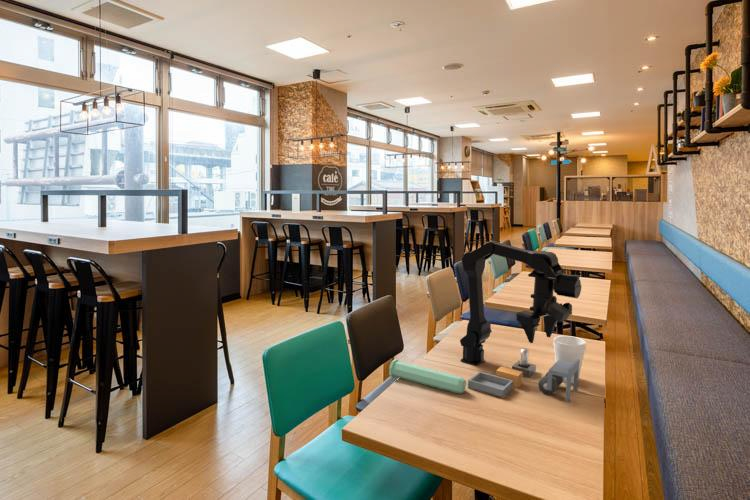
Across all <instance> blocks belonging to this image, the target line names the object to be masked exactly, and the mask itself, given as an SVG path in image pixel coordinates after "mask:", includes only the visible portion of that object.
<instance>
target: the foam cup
mask: <svg viewBox="0 0 750 500" xmlns="http://www.w3.org/2000/svg"><path fill="white" fill-rule="evenodd" d="M586 348H587V342H586V340H584V339H582V338H580V337H576V336H572V335H570V336H569V335H558V336H554V337H553V349H554V362H555V363H556V362H557V361H558V360H562V361H567V362H571V363H574V362H575V361H576V360H577V359H580V360H579V375H578V380H579V379H580V373H581V369H582V365H583V360H584V357H585V356H584V355H585V352H586V350H587V349H586ZM555 363H554V364H555ZM566 382H567V378H565V377H563V382H562V383H566ZM571 384H574V375H573V376H572V377H571Z"/></svg>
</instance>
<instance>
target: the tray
mask: <svg viewBox="0 0 750 500" xmlns="http://www.w3.org/2000/svg"><path fill="white" fill-rule="evenodd" d="M467 388H468V389H471V390H473V391H478V392H480V393H482V394H483V393H484V394H487V395H491V396H494V397H497V398H500V399H504V397H506V396H507V395H508V394H509V393H510V392H511V391H513V389H514V387H513V381H512V380H509V379H505V378H501V377H498V376H496V375H494V374H490V373H486V372H482V371H478V372H477V373H475V374H474V375H473V376H472V377H470V378H469V379H468V380H467Z"/></svg>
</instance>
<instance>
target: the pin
mask: <svg viewBox="0 0 750 500" xmlns="http://www.w3.org/2000/svg"><path fill="white" fill-rule="evenodd" d="M529 351H530V350H529V349H528V348H525V347H524V348H522V347H521V348H520V360H519V361H520V367H524V368H528V363H529Z"/></svg>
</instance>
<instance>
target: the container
mask: <svg viewBox="0 0 750 500" xmlns="http://www.w3.org/2000/svg"><path fill="white" fill-rule="evenodd" d="M388 370H389V371H388V374H389V376H390V377H391V378H394V377H396V378H399V379H403V380H406V381H407V380H408V381H411V382H413V383H418V384H422V385H424V386H430V387H432V388H436V389H440V390H443V391H447V392H451V393H455V394H460V395H461V394H464V392H465V390H466V386H467V380H466V379H465V378H464V377H462V376H459V375H455V374H450V373H447V372H443V371H438V370H435V369H431V368H427V367H424V366H423V367H422V366H419V365H414V364H411V363H407V362H403V361H399V359H396V358H394V359H393V360H392V361H391V362H390V364H389V367H388Z"/></svg>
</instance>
